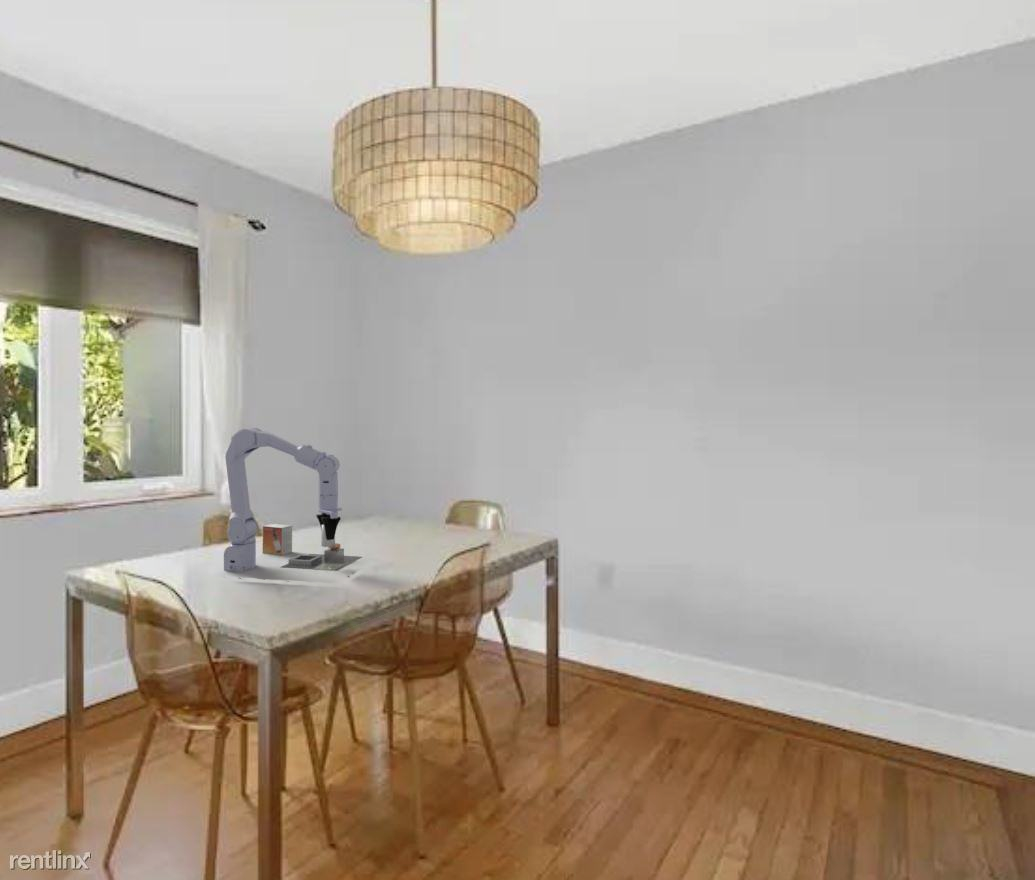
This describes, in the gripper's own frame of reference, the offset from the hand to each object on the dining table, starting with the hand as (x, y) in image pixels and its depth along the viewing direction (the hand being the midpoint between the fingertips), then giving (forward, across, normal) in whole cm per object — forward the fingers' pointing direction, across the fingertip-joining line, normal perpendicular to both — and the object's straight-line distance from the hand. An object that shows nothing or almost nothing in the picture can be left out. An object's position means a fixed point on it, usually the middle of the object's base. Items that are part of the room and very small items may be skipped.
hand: (328, 538), depth 201 cm
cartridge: (+2, 0, 0) cm, 2 cm away
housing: (+10, +8, 0) cm, 13 cm away
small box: (+10, +28, +10) cm, 31 cm away
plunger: (+8, +9, -4) cm, 13 cm away
